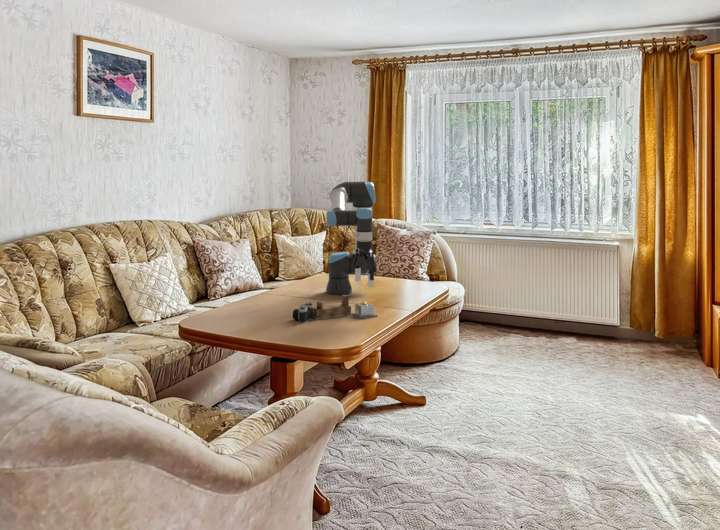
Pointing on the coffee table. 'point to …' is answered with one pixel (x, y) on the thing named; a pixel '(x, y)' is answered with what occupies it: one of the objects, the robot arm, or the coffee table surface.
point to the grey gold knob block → (364, 309)
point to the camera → (303, 312)
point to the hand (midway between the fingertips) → (364, 284)
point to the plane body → (332, 309)
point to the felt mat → (364, 316)
